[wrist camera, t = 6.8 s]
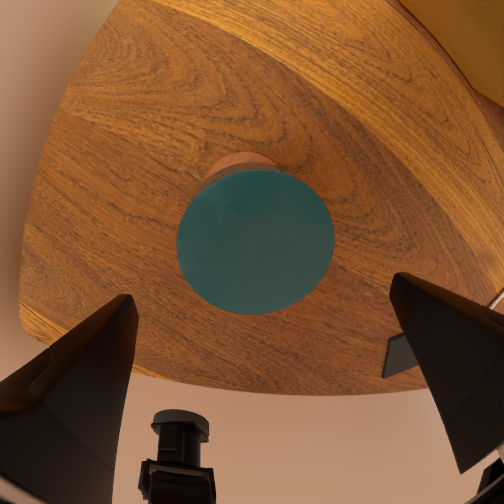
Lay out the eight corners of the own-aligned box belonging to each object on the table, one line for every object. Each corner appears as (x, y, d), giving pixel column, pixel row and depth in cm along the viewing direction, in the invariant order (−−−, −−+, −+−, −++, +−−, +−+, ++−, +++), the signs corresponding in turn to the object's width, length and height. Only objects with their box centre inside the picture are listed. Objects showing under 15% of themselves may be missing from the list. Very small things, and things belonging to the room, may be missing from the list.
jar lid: (206, 141, 12) (201, 145, 10) (340, 188, 13) (359, 200, 11) (170, 271, 15) (163, 295, 13) (289, 300, 16) (297, 325, 14)
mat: (427, 357, 33) (429, 359, 32) (381, 376, 33) (383, 379, 32) (439, 317, 29) (442, 320, 29) (389, 338, 29) (391, 341, 29)
